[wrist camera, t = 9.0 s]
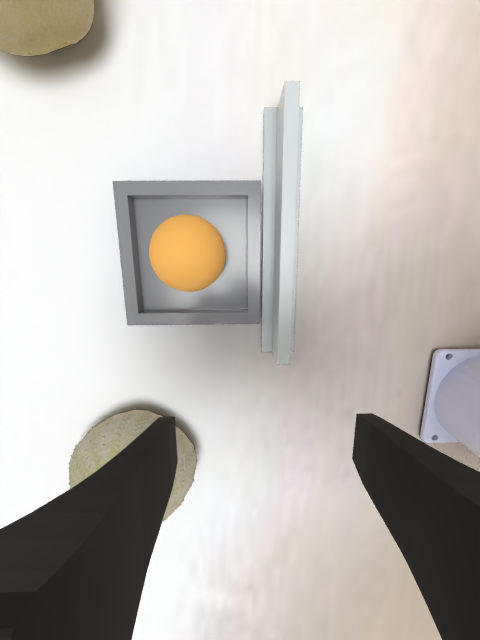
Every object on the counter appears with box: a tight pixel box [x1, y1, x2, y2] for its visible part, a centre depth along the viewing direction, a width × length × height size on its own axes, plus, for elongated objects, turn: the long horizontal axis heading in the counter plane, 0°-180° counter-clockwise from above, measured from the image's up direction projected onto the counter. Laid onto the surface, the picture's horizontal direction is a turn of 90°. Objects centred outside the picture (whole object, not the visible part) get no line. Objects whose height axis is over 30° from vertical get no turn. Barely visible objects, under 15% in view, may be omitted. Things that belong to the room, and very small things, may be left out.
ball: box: [149, 214, 226, 292], centre depth 16 cm, size 4×4×4 cm
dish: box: [113, 181, 261, 325], centre depth 18 cm, size 9×9×2 cm
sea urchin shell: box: [69, 409, 197, 521], centre depth 21 cm, size 9×8×8 cm
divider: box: [261, 81, 303, 365], centre depth 18 cm, size 2×16×3 cm, turn 0°
